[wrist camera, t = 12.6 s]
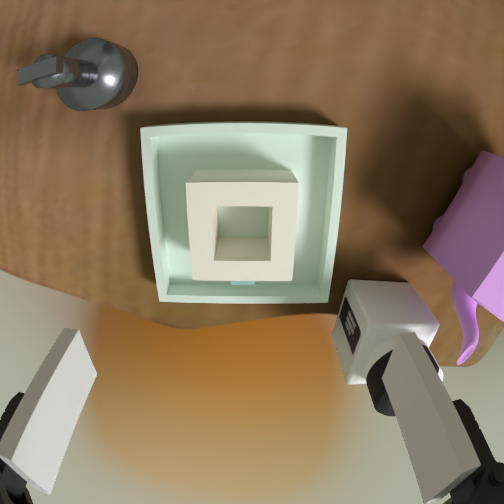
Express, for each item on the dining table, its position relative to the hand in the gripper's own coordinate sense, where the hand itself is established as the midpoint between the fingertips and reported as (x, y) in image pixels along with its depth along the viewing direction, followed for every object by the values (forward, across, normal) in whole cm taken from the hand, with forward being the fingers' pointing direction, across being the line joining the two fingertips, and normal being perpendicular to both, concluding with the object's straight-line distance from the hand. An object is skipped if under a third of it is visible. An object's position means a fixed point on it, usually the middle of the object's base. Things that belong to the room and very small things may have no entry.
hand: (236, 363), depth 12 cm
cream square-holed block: (+18, 0, 0) cm, 18 cm away
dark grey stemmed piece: (+18, -12, +13) cm, 25 cm away
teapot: (+18, +24, -1) cm, 30 cm away
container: (+18, +14, -11) cm, 26 cm away
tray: (+18, 0, 0) cm, 18 cm away
